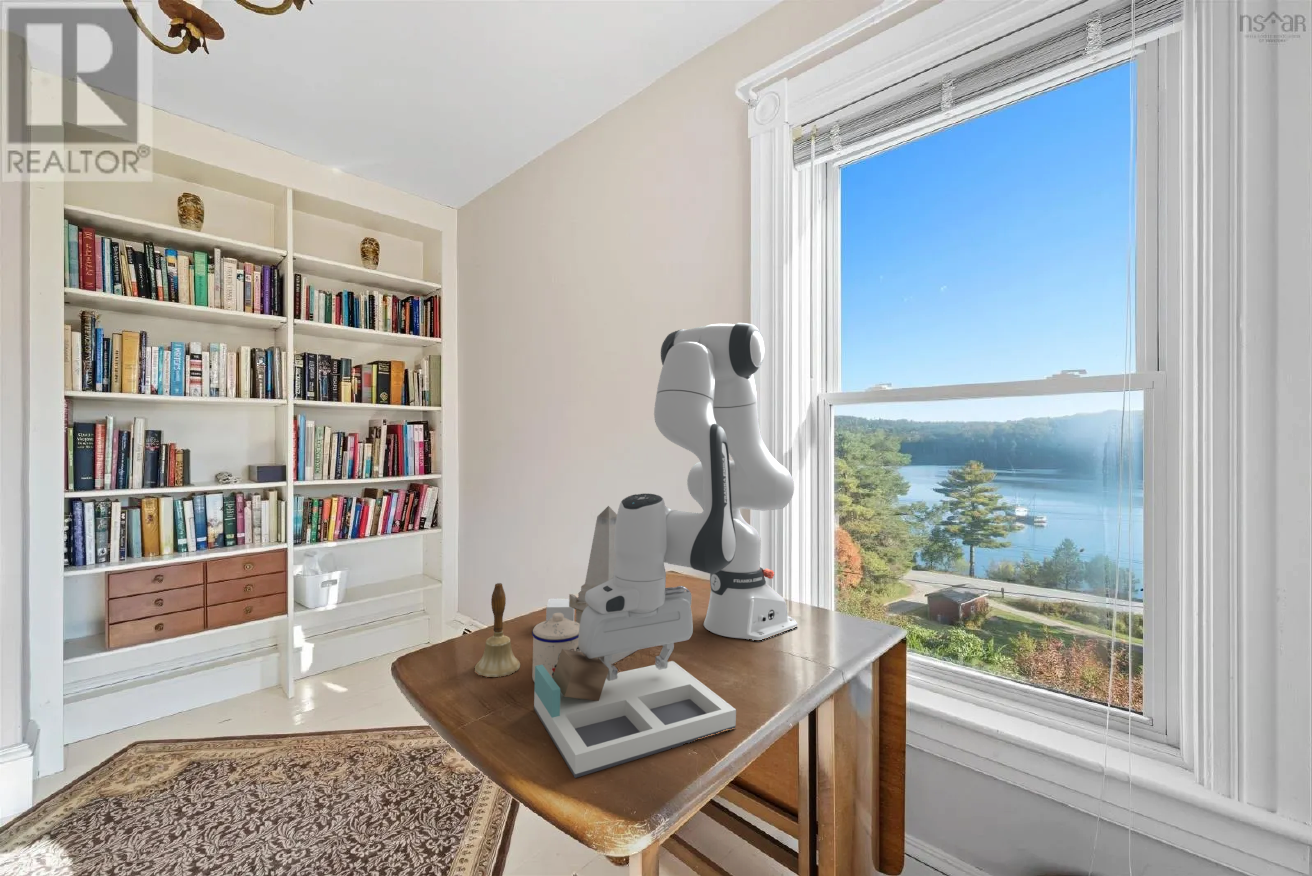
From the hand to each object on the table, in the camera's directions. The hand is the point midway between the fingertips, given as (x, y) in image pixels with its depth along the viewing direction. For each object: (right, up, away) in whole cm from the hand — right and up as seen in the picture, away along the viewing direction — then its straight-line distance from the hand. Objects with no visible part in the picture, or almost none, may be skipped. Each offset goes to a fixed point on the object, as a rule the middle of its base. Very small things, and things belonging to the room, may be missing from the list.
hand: (636, 673), depth 89 cm
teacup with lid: (-14, -4, +8) cm, 17 cm away
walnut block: (-10, 0, -5) cm, 11 cm away
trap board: (0, -5, -6) cm, 7 cm away
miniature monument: (-7, -4, +19) cm, 21 cm away
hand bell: (-27, -4, +10) cm, 29 cm away
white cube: (-19, -4, +31) cm, 36 cm away
